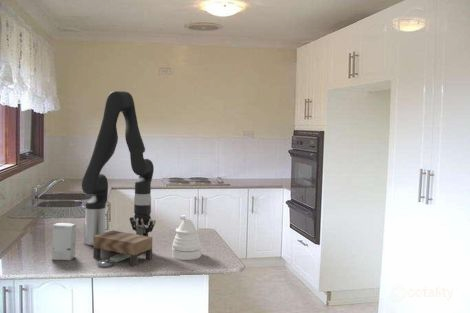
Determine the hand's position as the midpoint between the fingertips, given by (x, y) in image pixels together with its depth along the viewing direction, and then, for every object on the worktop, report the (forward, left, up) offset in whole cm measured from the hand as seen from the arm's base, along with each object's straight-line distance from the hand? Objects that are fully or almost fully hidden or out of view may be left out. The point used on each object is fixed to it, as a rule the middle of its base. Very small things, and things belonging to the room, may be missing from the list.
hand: (142, 240), depth 212 cm
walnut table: (0, -13, -5) cm, 14 cm away
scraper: (0, -8, -5) cm, 10 cm away
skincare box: (-21, -26, -5) cm, 34 cm away
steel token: (0, -24, -5) cm, 25 cm away
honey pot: (+21, +5, -5) cm, 22 cm away
